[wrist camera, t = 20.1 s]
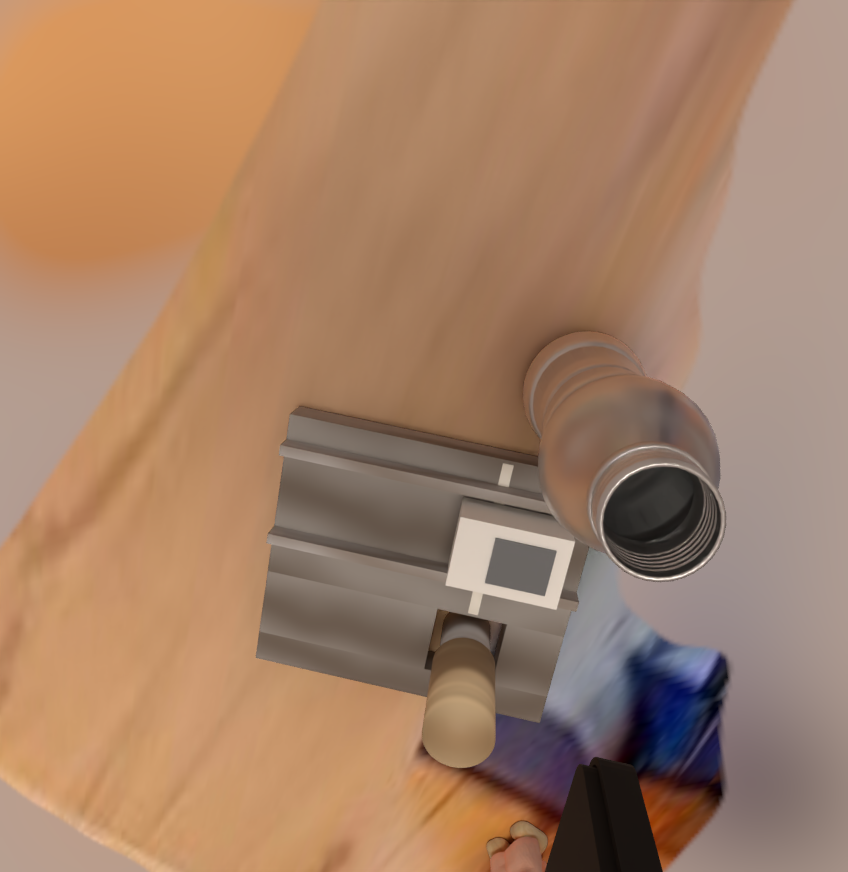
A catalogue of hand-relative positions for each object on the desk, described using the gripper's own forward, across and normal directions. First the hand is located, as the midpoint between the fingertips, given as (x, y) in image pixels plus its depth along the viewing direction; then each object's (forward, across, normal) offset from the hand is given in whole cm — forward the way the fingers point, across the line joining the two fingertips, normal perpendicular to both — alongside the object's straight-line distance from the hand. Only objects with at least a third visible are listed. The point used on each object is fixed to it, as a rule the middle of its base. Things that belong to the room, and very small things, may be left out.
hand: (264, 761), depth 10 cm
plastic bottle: (+31, -8, -2) cm, 32 cm away
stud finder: (+28, -6, +8) cm, 30 cm away
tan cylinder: (+30, -5, +15) cm, 34 cm away
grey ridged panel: (+30, -2, +11) cm, 32 cm away
